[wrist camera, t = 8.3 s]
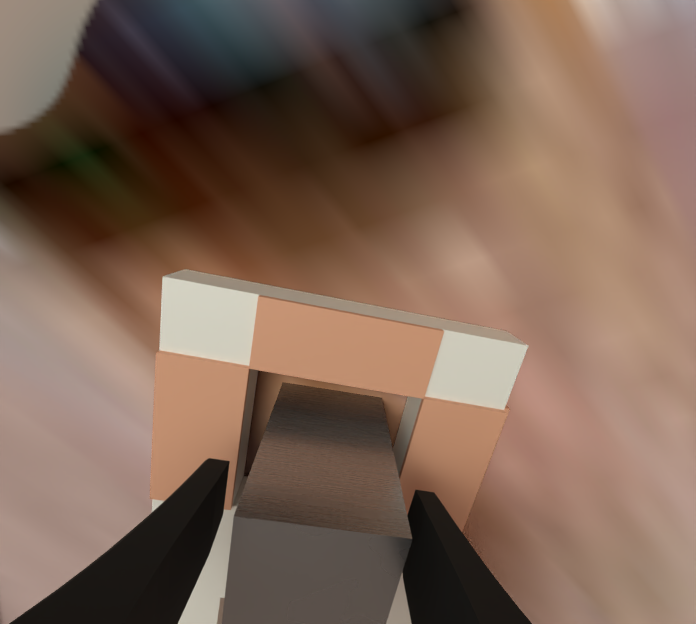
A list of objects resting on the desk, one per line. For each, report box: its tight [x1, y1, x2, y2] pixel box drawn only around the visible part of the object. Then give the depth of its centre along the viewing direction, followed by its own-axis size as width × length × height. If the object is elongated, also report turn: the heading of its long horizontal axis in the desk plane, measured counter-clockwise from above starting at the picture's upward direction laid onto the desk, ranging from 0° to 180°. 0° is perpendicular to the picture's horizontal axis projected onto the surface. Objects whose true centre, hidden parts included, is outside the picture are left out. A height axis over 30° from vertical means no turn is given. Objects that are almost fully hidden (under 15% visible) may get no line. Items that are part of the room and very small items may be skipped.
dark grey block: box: [222, 382, 412, 624], centre depth 11 cm, size 4×4×6 cm
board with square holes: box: [150, 269, 528, 624], centre depth 14 cm, size 12×22×2 cm, turn 169°
